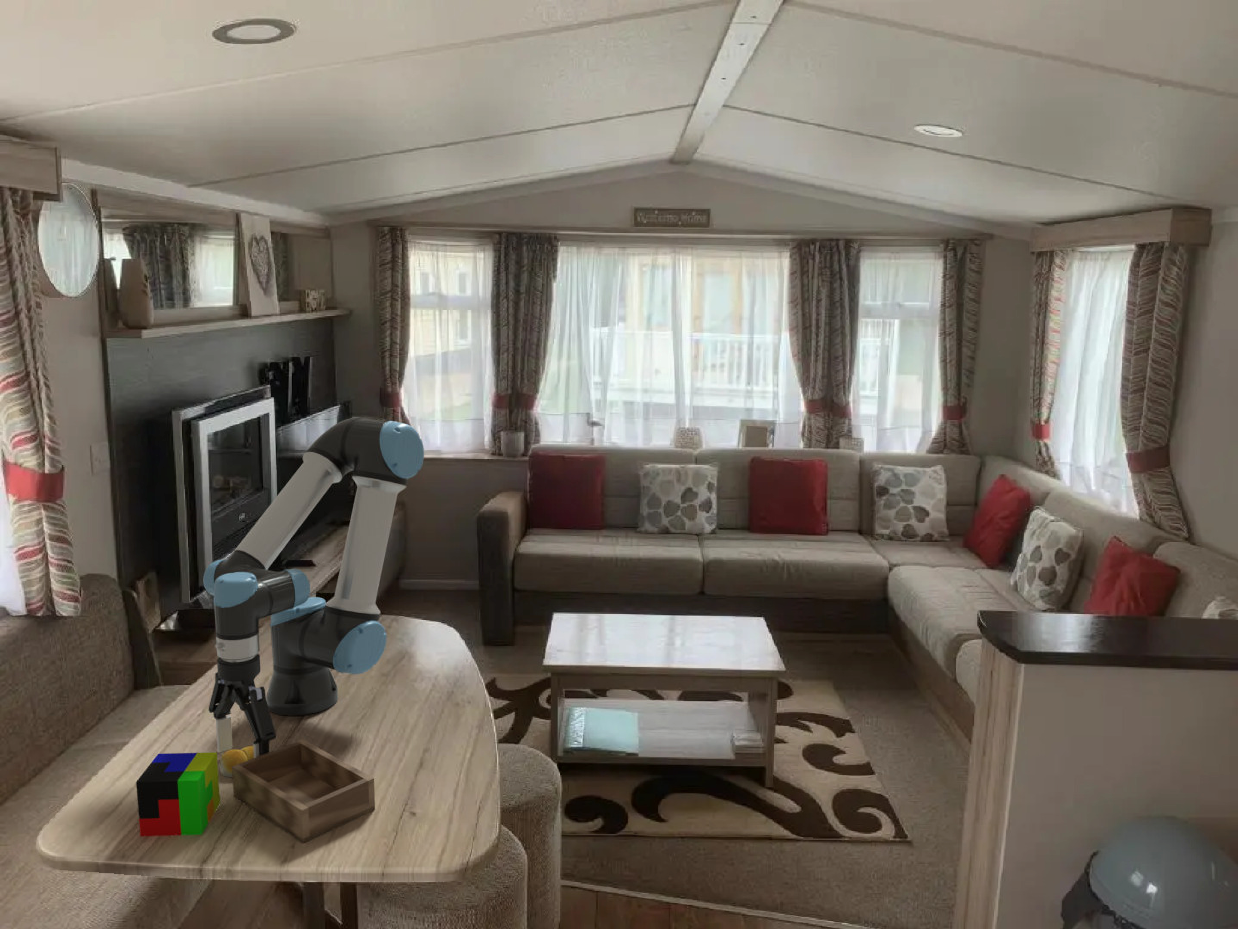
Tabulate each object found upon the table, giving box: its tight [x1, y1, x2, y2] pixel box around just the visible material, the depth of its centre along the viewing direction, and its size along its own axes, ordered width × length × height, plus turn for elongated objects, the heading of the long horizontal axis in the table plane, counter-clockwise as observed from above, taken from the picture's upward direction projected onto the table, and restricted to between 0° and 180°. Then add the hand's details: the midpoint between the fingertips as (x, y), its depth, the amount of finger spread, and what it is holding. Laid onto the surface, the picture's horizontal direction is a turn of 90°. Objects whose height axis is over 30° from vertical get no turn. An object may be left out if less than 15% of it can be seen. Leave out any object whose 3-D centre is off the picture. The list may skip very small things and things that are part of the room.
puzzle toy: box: [135, 751, 221, 837], centre depth 171 cm, size 10×10×10 cm
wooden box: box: [232, 739, 376, 844], centre depth 177 cm, size 22×14×6 cm, turn 50°
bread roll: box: [218, 745, 254, 778], centre depth 190 cm, size 8×9×4 cm
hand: (243, 761), depth 190 cm, fingers open, 13 cm apart
